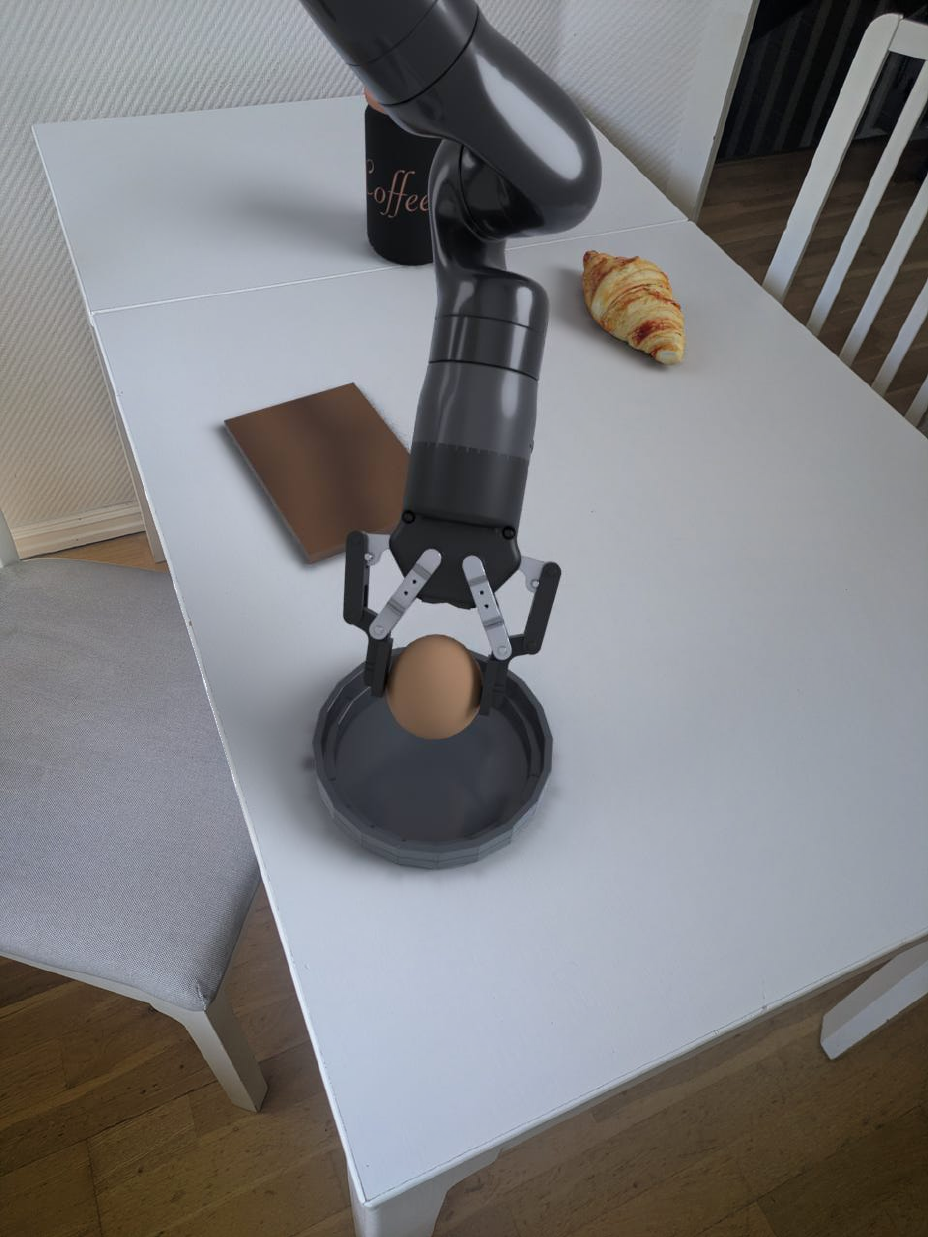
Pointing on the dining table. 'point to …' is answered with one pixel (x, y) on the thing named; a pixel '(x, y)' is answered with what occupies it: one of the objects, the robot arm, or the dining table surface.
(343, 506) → the board
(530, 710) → the pan
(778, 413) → the dining table surface
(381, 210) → the coffee jar
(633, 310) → the croissant
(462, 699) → the egg
